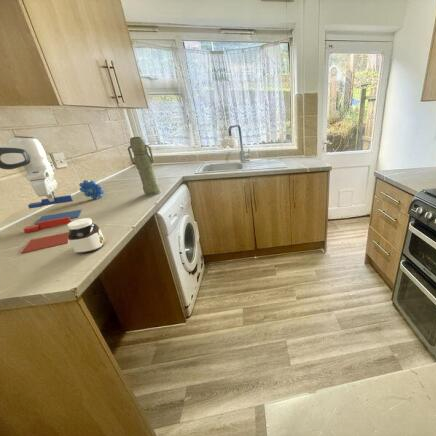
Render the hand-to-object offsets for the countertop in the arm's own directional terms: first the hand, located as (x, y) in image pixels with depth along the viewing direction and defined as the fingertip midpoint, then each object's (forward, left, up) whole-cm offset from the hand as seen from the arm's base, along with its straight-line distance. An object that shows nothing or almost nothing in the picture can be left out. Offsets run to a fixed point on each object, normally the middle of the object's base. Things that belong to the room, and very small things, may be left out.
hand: (53, 200), depth 119 cm
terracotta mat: (+3, -32, -9) cm, 33 cm away
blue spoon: (0, 0, -2) cm, 2 cm away
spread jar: (+16, -48, -9) cm, 51 cm away
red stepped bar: (-1, -12, -9) cm, 15 cm away
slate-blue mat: (0, 0, -9) cm, 9 cm away
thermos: (+43, +13, -9) cm, 46 cm away
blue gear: (+12, +26, -10) cm, 30 cm away
